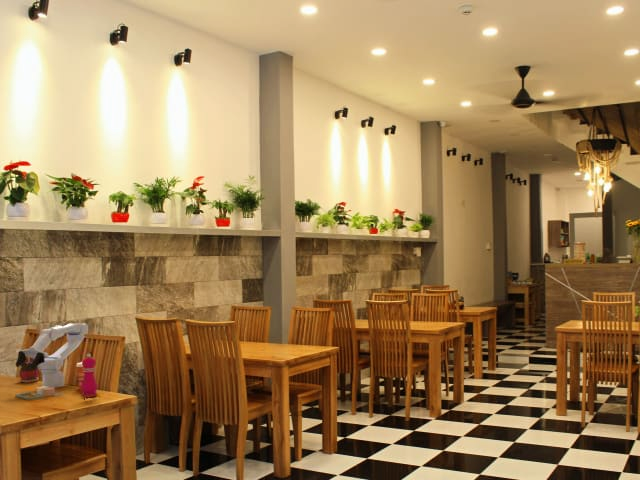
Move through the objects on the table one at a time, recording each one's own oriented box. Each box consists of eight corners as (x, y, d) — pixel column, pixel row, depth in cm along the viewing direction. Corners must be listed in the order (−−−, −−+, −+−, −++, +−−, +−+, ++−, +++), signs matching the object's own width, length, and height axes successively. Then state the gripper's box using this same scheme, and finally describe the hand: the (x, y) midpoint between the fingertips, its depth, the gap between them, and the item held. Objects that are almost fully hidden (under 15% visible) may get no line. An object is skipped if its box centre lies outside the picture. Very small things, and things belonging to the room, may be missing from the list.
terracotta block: (51, 393, 322) (51, 387, 322) (55, 394, 319) (55, 388, 319) (42, 395, 319) (42, 388, 319) (46, 396, 316) (46, 389, 316)
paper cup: (73, 392, 331) (72, 363, 332) (84, 390, 338) (83, 361, 339) (86, 393, 328) (85, 364, 329) (97, 390, 336) (96, 361, 336)
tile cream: (45, 392, 326) (45, 386, 326) (49, 393, 323) (49, 387, 323) (36, 393, 323) (36, 387, 323) (40, 394, 320) (40, 388, 321)
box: (30, 397, 323) (30, 391, 323) (44, 400, 314) (44, 395, 314) (15, 399, 318) (15, 394, 318) (29, 403, 308) (29, 397, 308)
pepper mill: (101, 396, 321) (100, 352, 322) (91, 399, 314) (90, 355, 315) (88, 395, 324) (87, 352, 324) (77, 398, 317) (77, 354, 317)
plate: (50, 394, 330) (50, 390, 330) (64, 397, 321) (64, 394, 321) (30, 397, 323) (30, 394, 323) (44, 400, 314) (44, 397, 314)
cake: (15, 382, 365) (14, 348, 366) (25, 379, 375) (24, 346, 375) (33, 382, 364) (33, 348, 364) (43, 379, 373) (43, 346, 373)
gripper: (23, 339, 332) (7, 358, 321) (50, 341, 330) (36, 361, 318) (27, 350, 336) (11, 369, 324) (54, 353, 333) (40, 372, 322)
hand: (24, 366), depth 322 cm, fingers open, 7 cm apart
